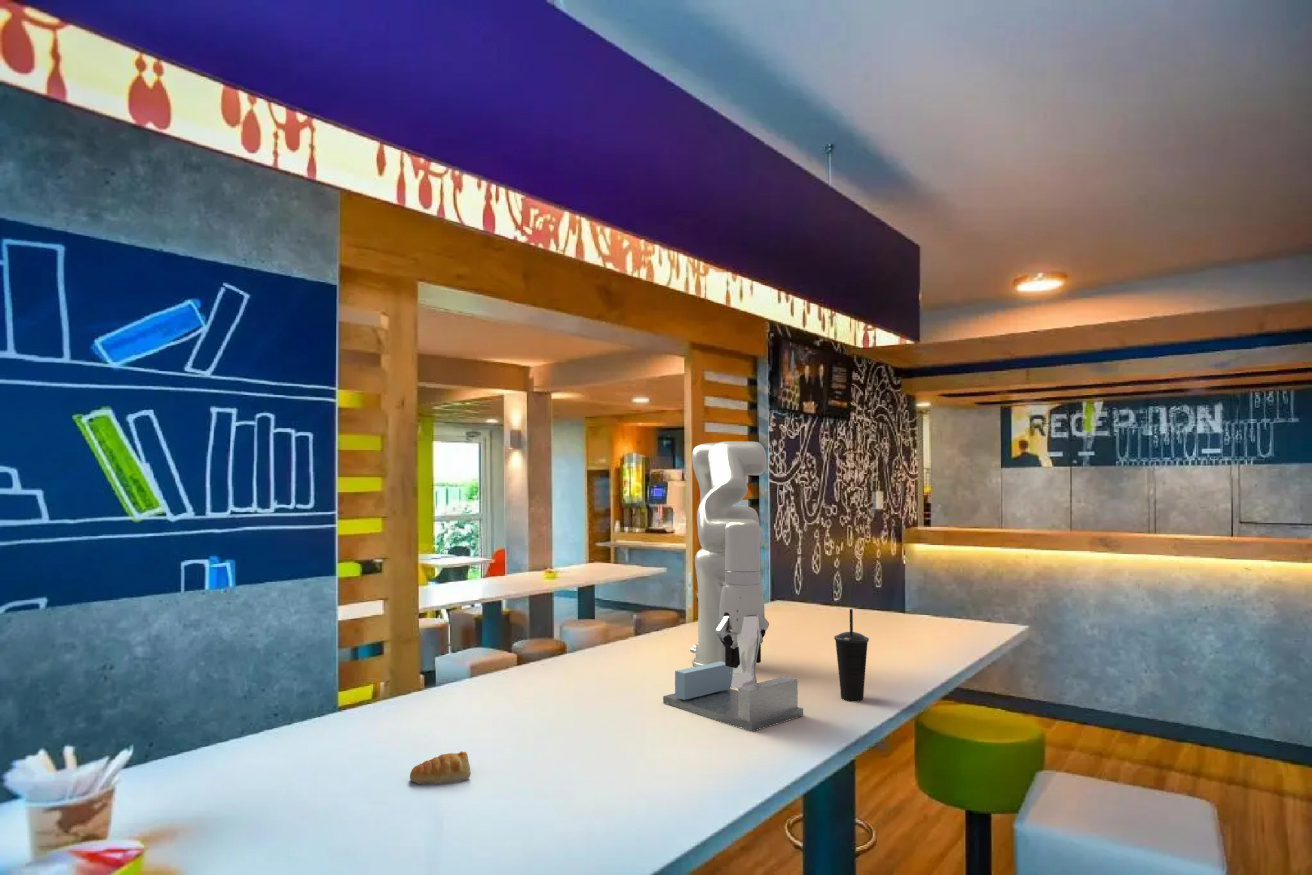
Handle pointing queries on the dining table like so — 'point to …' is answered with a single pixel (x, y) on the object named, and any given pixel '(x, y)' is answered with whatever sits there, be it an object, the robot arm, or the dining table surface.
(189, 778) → the dining table surface
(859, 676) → the drinking cup
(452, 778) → the pastry
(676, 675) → the bar
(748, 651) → the beer glass
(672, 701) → the vise base
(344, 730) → the dining table surface
